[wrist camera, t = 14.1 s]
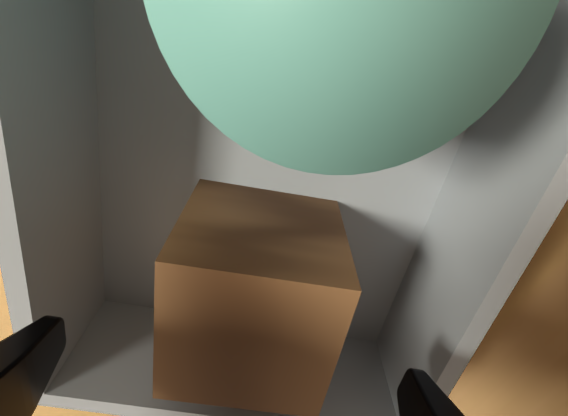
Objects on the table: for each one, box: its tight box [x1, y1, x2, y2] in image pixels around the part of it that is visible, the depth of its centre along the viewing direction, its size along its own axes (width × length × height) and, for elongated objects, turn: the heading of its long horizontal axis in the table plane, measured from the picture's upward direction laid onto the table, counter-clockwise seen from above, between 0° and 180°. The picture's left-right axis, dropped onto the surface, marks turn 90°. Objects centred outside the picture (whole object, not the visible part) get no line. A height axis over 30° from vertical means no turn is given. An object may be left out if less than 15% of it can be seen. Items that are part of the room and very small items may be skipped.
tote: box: [0, 0, 568, 416], centre depth 11 cm, size 17×13×5 cm
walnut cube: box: [153, 179, 362, 416], centre depth 12 cm, size 5×5×5 cm
